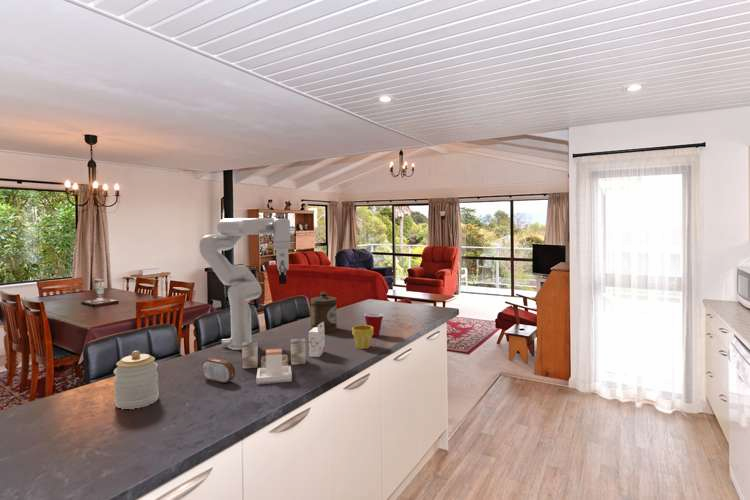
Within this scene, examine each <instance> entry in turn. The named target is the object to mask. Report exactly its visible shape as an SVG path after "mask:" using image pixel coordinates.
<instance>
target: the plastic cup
mask: <svg viewBox="0 0 750 500" xmlns="http://www.w3.org/2000/svg"><path fill="white" fill-rule="evenodd" d="M363 315H364V321H365V323H366V324H365V325H369V326H372V327H373V335H372V338H378V337H379V336H380V332H381V326H382V321H383V318H384V316H385V314H382V313H377V312H367V313H364V314H363Z"/></svg>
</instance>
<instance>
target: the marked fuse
mask: <svg viewBox="0 0 750 500" xmlns="http://www.w3.org/2000/svg"><path fill="white" fill-rule="evenodd" d="M282 355H283V348H272V349H271V348H270V349H265V356H266V376H276V375H282Z"/></svg>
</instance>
